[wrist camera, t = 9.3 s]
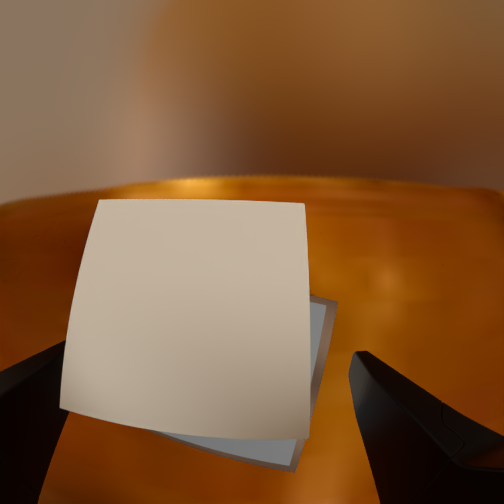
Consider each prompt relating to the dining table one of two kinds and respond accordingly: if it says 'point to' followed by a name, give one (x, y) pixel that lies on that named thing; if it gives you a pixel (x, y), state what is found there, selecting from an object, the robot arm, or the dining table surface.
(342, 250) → the dining table surface
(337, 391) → the dining table surface
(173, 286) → the ivory pillar block
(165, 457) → the dining table surface
